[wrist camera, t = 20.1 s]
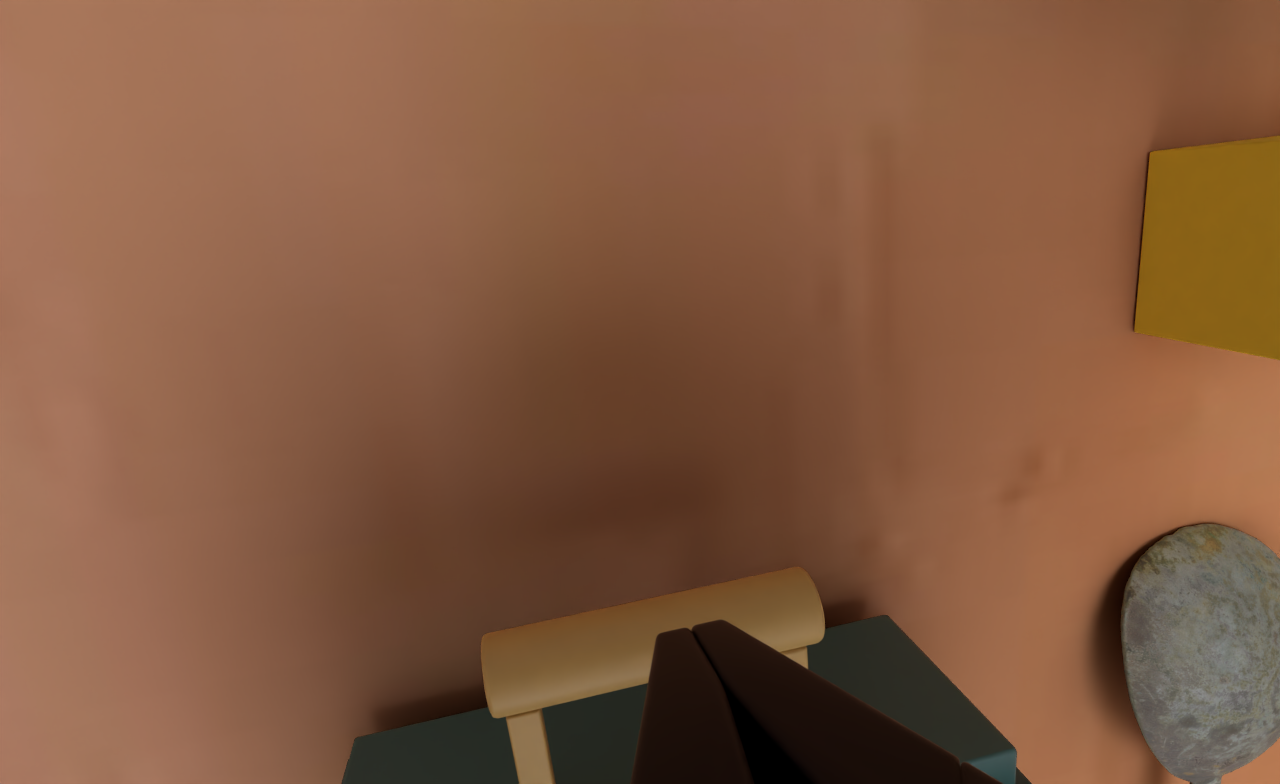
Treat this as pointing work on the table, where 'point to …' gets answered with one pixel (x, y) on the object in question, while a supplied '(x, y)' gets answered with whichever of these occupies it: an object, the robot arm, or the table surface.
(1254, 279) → the sponge
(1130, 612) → the soupspoon
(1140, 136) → the table surface
